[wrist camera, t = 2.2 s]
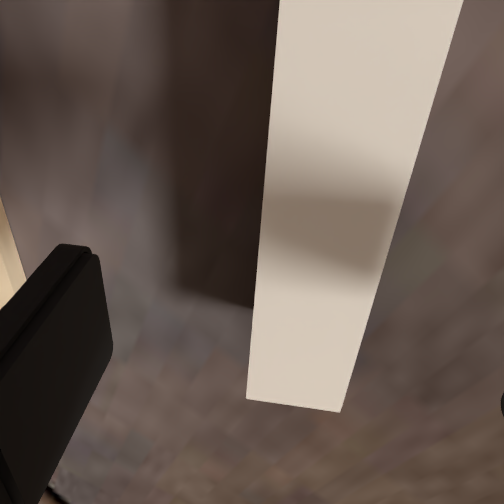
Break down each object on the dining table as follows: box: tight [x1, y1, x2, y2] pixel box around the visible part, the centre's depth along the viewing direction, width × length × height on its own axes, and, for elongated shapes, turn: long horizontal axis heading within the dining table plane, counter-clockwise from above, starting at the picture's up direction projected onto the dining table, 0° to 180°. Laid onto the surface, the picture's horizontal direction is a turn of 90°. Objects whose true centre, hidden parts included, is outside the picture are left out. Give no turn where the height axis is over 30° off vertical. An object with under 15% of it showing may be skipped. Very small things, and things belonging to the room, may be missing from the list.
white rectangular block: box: [246, 0, 463, 412], centre depth 14 cm, size 16×4×5 cm, turn 177°
